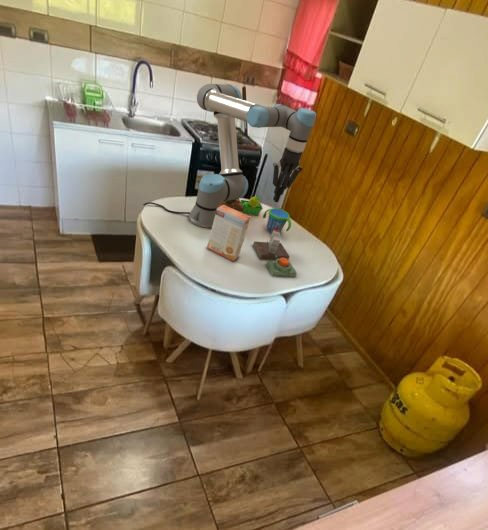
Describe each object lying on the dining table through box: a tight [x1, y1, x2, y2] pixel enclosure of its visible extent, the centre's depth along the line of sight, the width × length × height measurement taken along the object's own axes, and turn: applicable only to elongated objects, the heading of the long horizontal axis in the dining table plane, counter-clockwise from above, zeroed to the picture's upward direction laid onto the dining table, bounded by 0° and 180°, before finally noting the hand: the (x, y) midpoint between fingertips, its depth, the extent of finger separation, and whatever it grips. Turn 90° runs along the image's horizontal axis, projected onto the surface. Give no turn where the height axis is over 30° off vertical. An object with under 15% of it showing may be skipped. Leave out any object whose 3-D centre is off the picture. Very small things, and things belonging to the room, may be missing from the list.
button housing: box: [265, 259, 298, 278], centre depth 166 cm, size 11×8×4 cm
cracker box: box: [206, 205, 252, 262], centre depth 165 cm, size 14×6×21 cm, turn 56°
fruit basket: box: [240, 195, 264, 216], centre depth 205 cm, size 11×9×11 cm
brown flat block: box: [252, 240, 290, 261], centre depth 177 cm, size 14×13×3 cm
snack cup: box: [262, 207, 292, 233], centre depth 194 cm, size 16×10×10 cm
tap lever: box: [268, 230, 281, 254], centre depth 174 cm, size 9×3×8 cm, turn 169°
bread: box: [219, 198, 243, 213], centre depth 203 cm, size 19×11×10 cm, turn 19°
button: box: [278, 258, 291, 267], centre depth 165 cm, size 4×4×2 cm
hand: (275, 200), depth 168 cm, fingers closed
